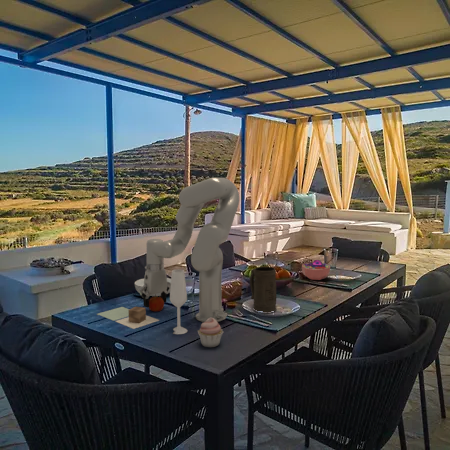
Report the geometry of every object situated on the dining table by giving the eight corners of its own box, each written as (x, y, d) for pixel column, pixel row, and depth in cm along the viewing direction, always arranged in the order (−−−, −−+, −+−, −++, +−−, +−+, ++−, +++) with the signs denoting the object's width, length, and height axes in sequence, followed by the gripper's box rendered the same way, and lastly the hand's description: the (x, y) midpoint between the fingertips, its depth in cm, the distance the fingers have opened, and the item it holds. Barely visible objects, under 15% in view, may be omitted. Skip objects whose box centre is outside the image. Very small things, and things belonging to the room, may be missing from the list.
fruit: (167, 310, 178) (167, 293, 177) (157, 315, 172) (157, 297, 171) (155, 308, 181) (155, 291, 181) (145, 312, 175) (144, 295, 175)
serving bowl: (180, 297, 198) (180, 284, 198) (138, 302, 191) (138, 288, 190) (170, 287, 218) (170, 275, 217) (132, 291, 210) (131, 278, 209)
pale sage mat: (139, 314, 173) (139, 312, 173) (113, 322, 163) (113, 320, 163) (122, 308, 181) (122, 306, 181) (96, 315, 171) (96, 313, 171)
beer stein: (282, 309, 179) (280, 267, 177) (268, 315, 171) (266, 271, 170) (256, 305, 189) (254, 264, 188) (242, 310, 181) (240, 268, 180)
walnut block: (145, 319, 164) (145, 307, 164) (139, 323, 160) (138, 311, 159) (135, 318, 166) (135, 306, 165) (128, 321, 161) (128, 310, 161)
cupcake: (203, 351, 135) (203, 323, 134) (193, 341, 143) (193, 315, 142) (228, 346, 139) (228, 319, 138) (217, 337, 147) (217, 311, 146)
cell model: (296, 280, 232) (296, 262, 230) (308, 274, 249) (308, 256, 247) (324, 284, 223) (324, 265, 222) (334, 277, 240) (335, 259, 238)
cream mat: (159, 321, 163) (159, 320, 163) (133, 330, 154) (133, 328, 154) (140, 315, 172) (140, 313, 172) (115, 323, 162) (114, 321, 162)
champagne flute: (166, 331, 154) (165, 270, 151) (180, 326, 158) (179, 268, 156) (177, 335, 149) (176, 273, 146) (191, 331, 153) (190, 270, 151)
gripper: (144, 271, 166) (144, 310, 168) (175, 265, 179) (175, 301, 180) (133, 268, 170) (134, 306, 172) (164, 262, 183) (164, 298, 185)
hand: (155, 304), depth 176 cm, fingers open, 9 cm apart
